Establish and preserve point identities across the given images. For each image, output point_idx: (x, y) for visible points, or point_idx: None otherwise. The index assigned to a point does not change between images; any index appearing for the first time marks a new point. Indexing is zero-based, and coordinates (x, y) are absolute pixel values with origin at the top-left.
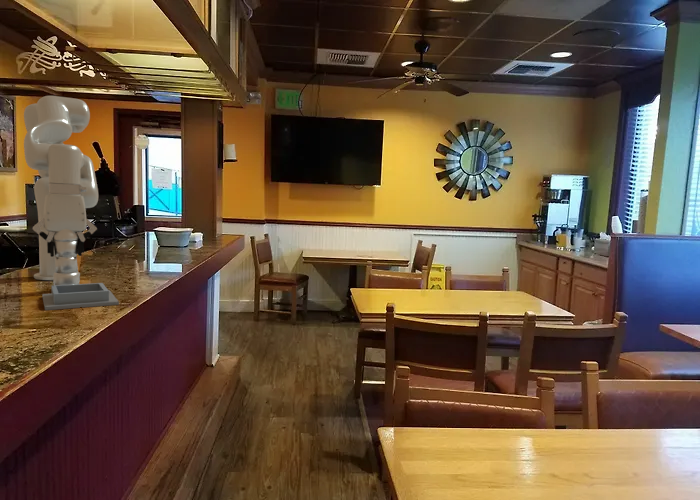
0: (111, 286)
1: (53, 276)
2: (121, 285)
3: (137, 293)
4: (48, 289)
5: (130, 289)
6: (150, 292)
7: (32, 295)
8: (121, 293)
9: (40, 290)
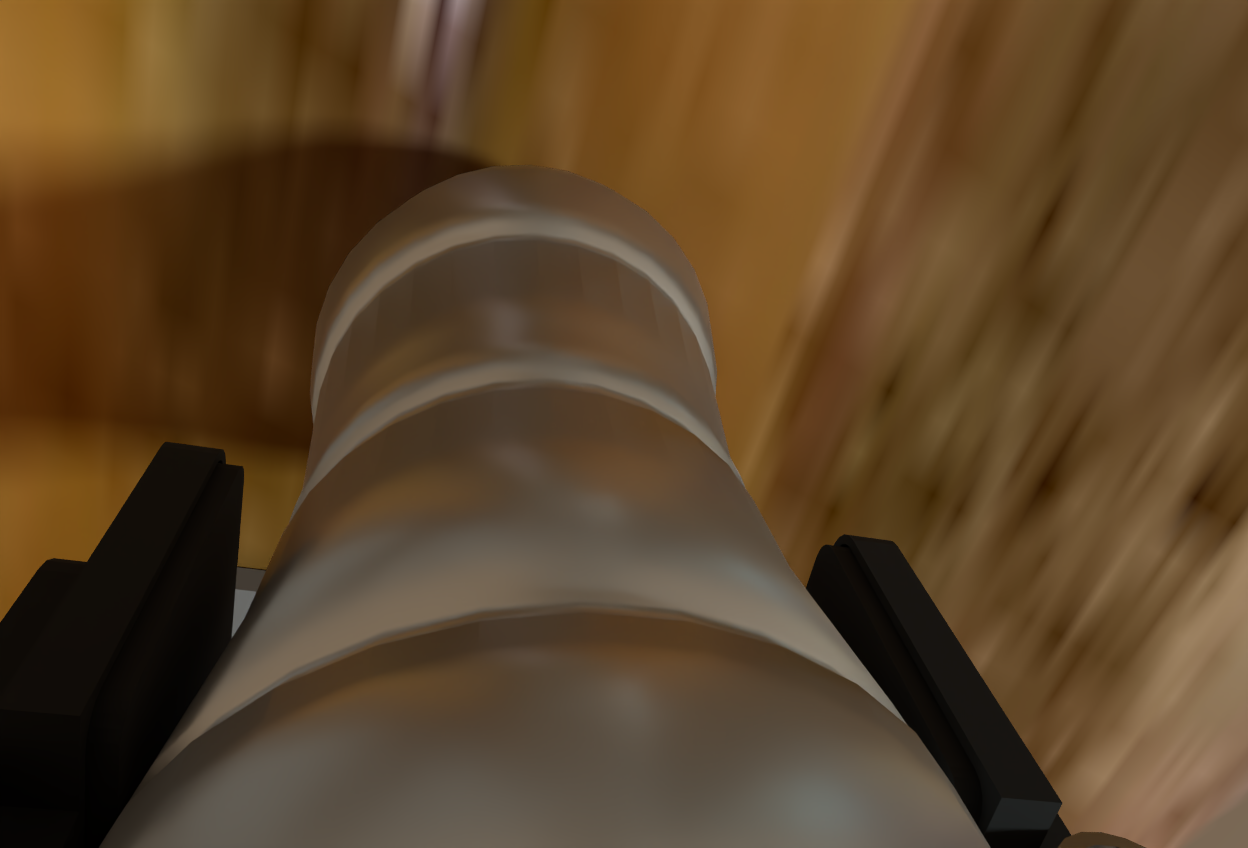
0: (1110, 269)
1: (312, 366)
2: (1244, 262)
3: (1085, 773)
4: (308, 49)
5: (1161, 560)
6: (1205, 779)
7: (61, 398)
8: None
9: (187, 74)
